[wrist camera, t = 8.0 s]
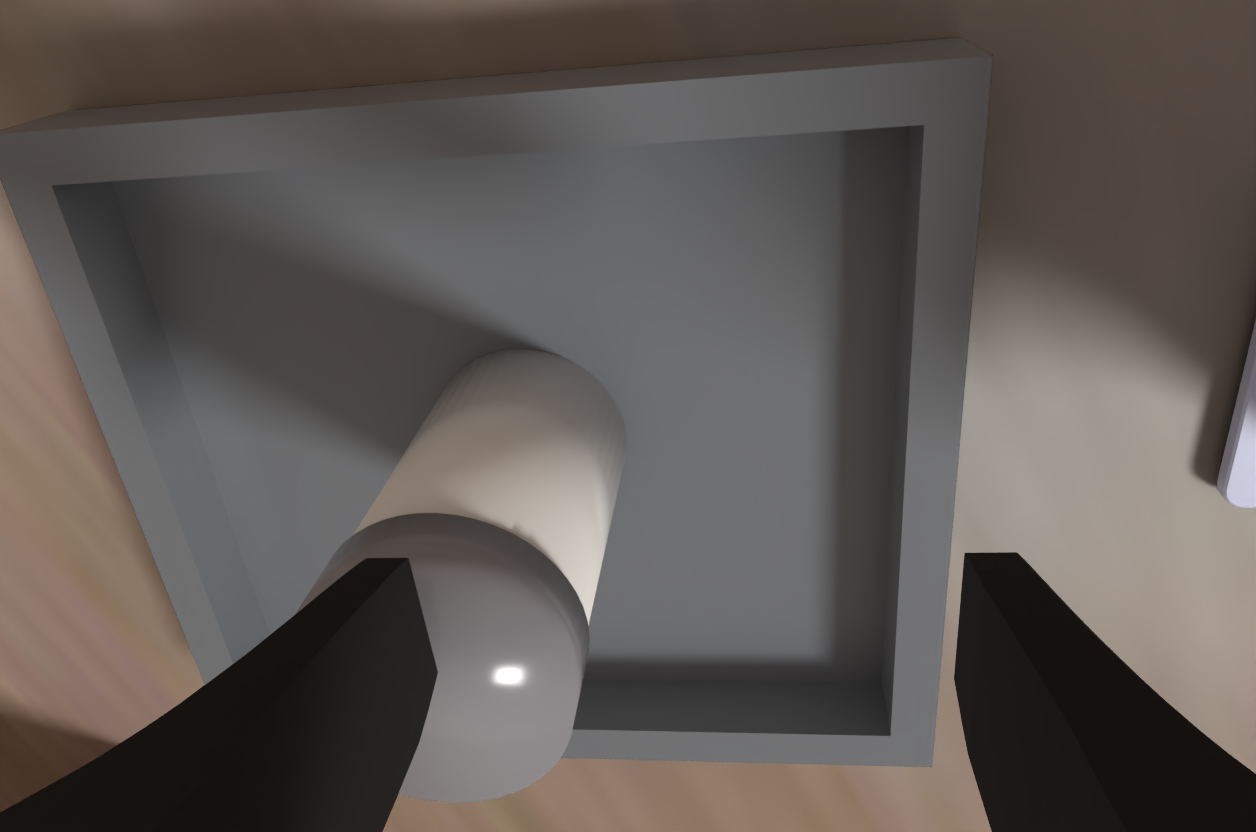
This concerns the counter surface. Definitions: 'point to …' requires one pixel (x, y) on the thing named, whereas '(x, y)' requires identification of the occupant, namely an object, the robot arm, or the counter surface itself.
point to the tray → (559, 354)
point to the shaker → (500, 563)
